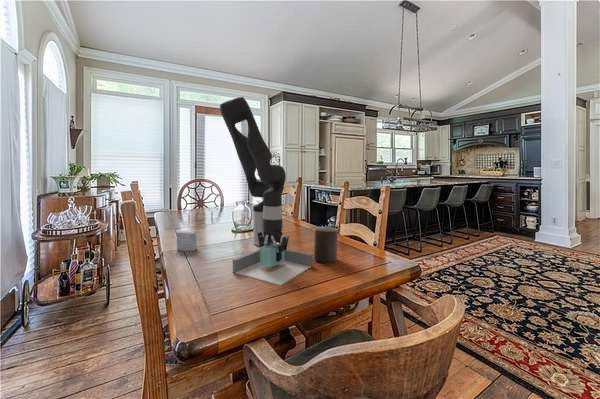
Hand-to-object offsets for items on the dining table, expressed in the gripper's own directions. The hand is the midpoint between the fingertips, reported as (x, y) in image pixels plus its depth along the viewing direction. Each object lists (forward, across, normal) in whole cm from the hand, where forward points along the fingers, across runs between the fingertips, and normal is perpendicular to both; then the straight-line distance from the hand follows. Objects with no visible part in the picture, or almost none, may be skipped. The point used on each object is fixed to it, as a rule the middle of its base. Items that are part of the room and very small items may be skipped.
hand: (272, 259), depth 110 cm
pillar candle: (+4, +13, +20) cm, 24 cm away
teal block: (+1, 0, 0) cm, 1 cm away
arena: (+3, +1, -1) cm, 4 cm away
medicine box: (+4, -49, -3) cm, 49 cm away
